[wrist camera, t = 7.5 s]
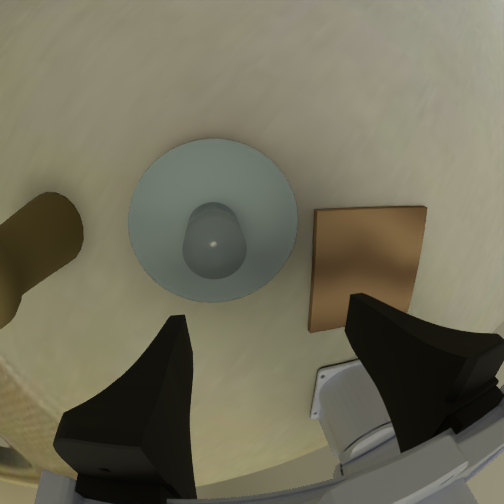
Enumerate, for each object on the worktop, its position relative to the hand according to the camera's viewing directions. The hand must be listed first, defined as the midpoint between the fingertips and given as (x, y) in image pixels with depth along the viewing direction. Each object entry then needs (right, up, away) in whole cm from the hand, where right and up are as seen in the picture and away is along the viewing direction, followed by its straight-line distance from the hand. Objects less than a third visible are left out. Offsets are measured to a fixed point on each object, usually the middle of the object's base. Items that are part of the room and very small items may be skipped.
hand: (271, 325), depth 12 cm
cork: (-16, +5, +7) cm, 18 cm away
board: (+9, +2, +12) cm, 15 cm away
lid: (-3, +5, +5) cm, 7 cm away
